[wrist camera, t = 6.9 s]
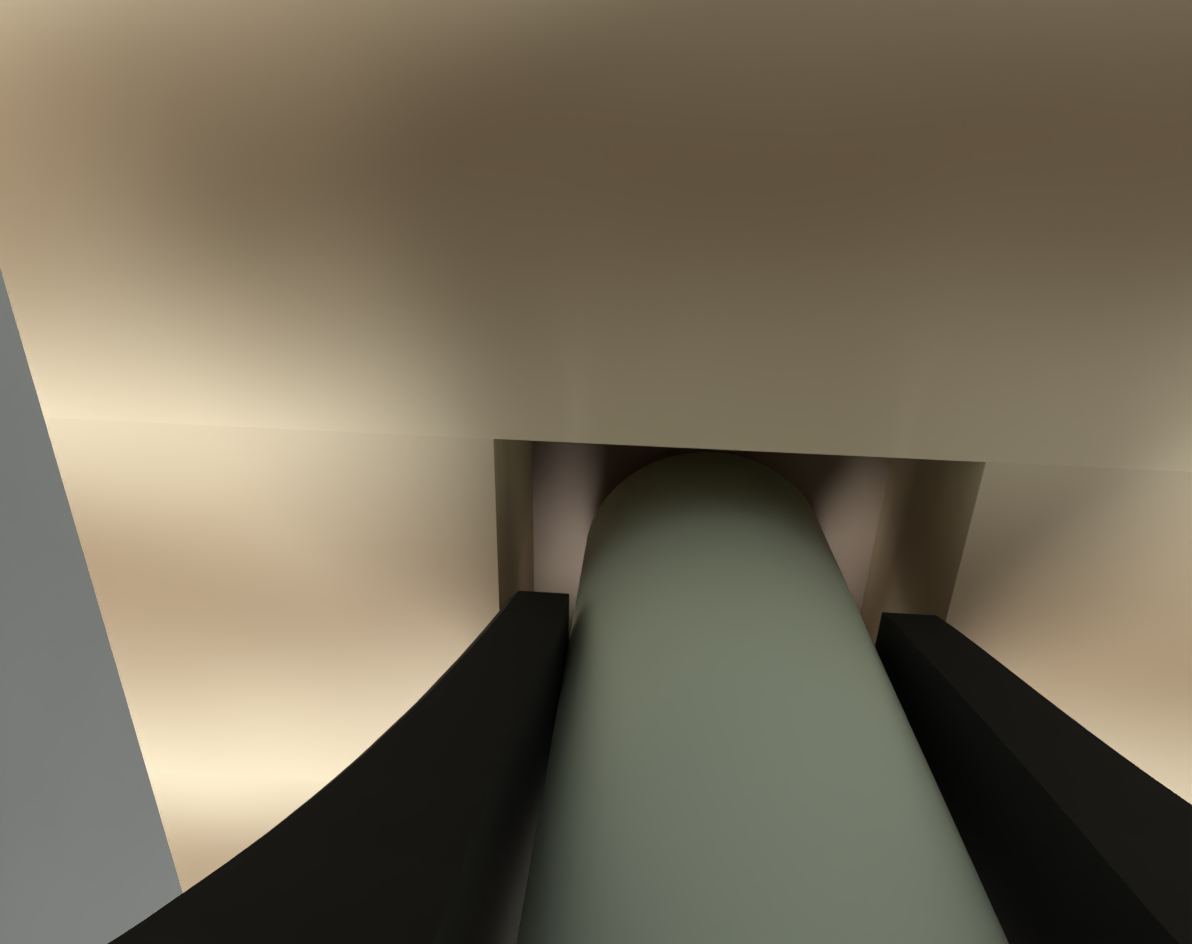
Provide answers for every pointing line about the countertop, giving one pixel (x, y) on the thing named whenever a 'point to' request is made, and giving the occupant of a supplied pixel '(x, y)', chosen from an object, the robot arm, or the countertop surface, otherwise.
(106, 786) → the countertop surface
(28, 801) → the countertop surface
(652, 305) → the pocket block
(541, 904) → the pin
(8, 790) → the countertop surface
